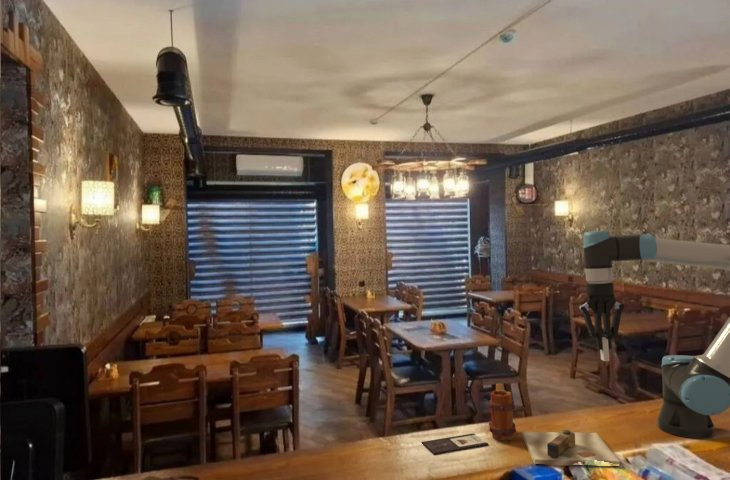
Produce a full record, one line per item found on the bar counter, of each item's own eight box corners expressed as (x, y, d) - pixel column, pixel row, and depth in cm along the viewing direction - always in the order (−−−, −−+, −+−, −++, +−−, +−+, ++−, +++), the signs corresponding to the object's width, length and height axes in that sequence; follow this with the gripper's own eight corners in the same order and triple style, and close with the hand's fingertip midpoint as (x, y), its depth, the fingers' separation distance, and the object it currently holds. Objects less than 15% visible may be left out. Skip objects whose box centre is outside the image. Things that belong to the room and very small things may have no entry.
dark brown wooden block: (562, 440, 151) (561, 427, 151) (577, 443, 148) (577, 430, 148) (544, 455, 141) (543, 441, 141) (560, 459, 138) (559, 445, 138)
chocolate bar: (421, 441, 157) (473, 433, 162) (421, 444, 157) (473, 436, 162) (433, 453, 148) (488, 443, 153) (433, 456, 148) (488, 447, 153)
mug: (517, 444, 153) (516, 394, 153) (489, 443, 155) (488, 394, 155) (513, 426, 167) (512, 381, 167) (488, 425, 169) (486, 380, 169)
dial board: (596, 437, 156) (596, 432, 156) (619, 466, 136) (619, 460, 136) (522, 436, 159) (522, 431, 159) (534, 464, 139) (534, 458, 139)
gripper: (616, 279, 157) (622, 356, 157) (573, 282, 158) (578, 358, 158) (627, 281, 150) (633, 361, 149) (581, 284, 151) (587, 364, 150)
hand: (605, 360), depth 154 cm, fingers closed
